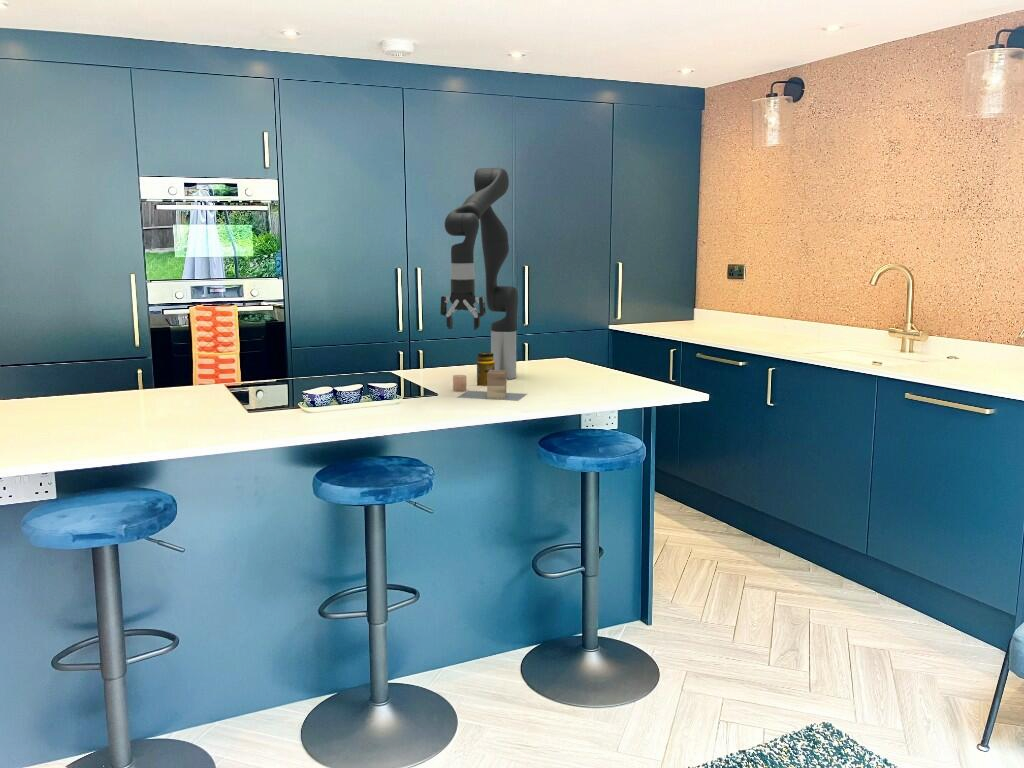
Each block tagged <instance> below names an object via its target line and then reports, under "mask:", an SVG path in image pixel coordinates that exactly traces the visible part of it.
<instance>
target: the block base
mask: <svg viewBox="0 0 1024 768" xmlns="http://www.w3.org/2000/svg"><path fill="white" fill-rule="evenodd" d="M486 392H487V398H489V399H488V400H493V399H505V397H506V393H507V384H506V385H505V386H486Z"/></svg>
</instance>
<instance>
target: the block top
mask: <svg viewBox="0 0 1024 768" xmlns="http://www.w3.org/2000/svg"><path fill="white" fill-rule="evenodd" d="M506 377H507V371H500V370H489V371H488V372H487V386H505V385H506V386H507V379H506ZM487 386H486V387H487Z"/></svg>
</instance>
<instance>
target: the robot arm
mask: <svg viewBox="0 0 1024 768" xmlns="http://www.w3.org/2000/svg"><path fill="white" fill-rule="evenodd" d="M509 178H510V177H509V174H508V171H507V170H506V169H504V168H501V167H481V168H477V169H476V170H475V171H474V177H473V182H474V183H473V186H474V193H472V194H470V196H468V197H467V198H466V199H465V200H464V202H463V203H462V205H460V206H458V207H457V208H455V209H453V210H451V211H450V212H449V213H448V214H447V216H446V217H445V219H444V230H445V231H446V233H447V234H448V235H450V236H452V237H453V236H454V237H464V240H463V241H462V242H459V243H455V244H453V245H452V246H451V247H450V259H451V261H450V263H451V264H450V273H449V274H450V275H449V277H450V296H447V295H443V296H441V297H440V315H441V316H444V317H445V318H446V327H447V328H448V330H452V329H453V328H454V327H453V326H454V324H453V314H455V312H456V311H469V312H470V313H471V314H472V315H473V317H474V318H473V330H475V331H477V330H478V329H479V328H480V326H481V317H484V316H486V306H487V308H488V310H489V311H490V312H497V313H498V312H500V313H505V316H504V317H503V318H501V319H499V320H496V321H494V322H492V323H491V325H490V353H493V358H494V359H493V360H494V362H495V370H500V371H507V377H506V380H512V379H516V378H517V326H518V305H519V304H518V303H519V293H518V289H517V288H516V287H515V286H507V285H506V286H505V285H502V286H501V285H498V275H499V272H500V270H501V268H502V266H503V264H504V262H505V260H506V258H507V257H508V254H509V251H510V245H509V235H508V230H507V229H506V227H505V225H504V223H503V221H501V220H500V218H499V217H498V215H497V214H496V213H495V211H494V209H493V207H492V205H493V204H494V203H495V202H497V201H498V200H499V199H500V198H502V197H503V196H504V195H505V194H506V193H507V191H508V188H509V186H510V185H509V183H510V180H509ZM479 228H480V235H481V246H482V247H481V248H482V253H483V261H484V270H485V271H484V273H485V296H484V295H483V296H478V297H477V296H476V294H475V293H476V291H475V290H476V288H475V286H476V285H475V284H476V283H475V279H476V277H475V276H476V274H475V264H474V250H475V245H476V239H477V236H478V233H479ZM485 299H486V300H485ZM449 301H450V303H451V304H452V305H451V306H450V308H449V309H448V308H447V307H448V303H449ZM476 302H477V304H478V306H479V307H478V308H479V310H477V308H476V306H475V303H476ZM447 309H448V311H447Z"/></svg>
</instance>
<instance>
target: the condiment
mask: <svg viewBox="0 0 1024 768" xmlns="http://www.w3.org/2000/svg"><path fill="white" fill-rule="evenodd" d="M477 356H478V357H477V361H476V385H474V384H472V385H471V386H477V387H479V386H480V387H481V386H482V387H487V372H488V371H489V370H495V362H494V360H493V359H494V358H493V353H491V352H489V351H488V352H487V351H486V352H485V351H484V352H482V351H481V352H478V353H477Z"/></svg>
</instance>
